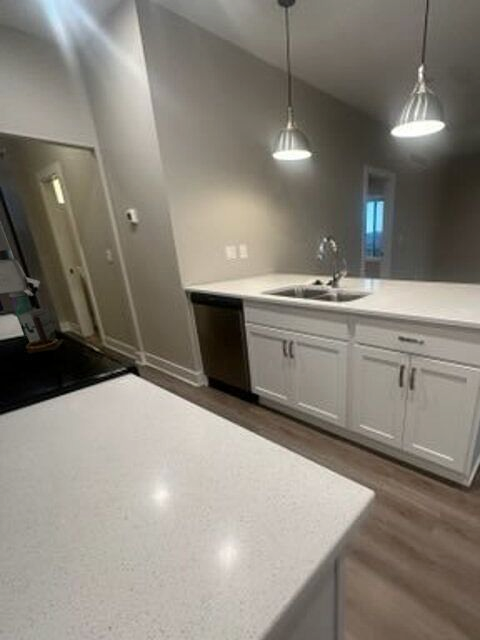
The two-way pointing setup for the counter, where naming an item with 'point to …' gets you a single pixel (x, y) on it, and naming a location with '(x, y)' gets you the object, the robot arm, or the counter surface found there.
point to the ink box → (30, 326)
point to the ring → (51, 340)
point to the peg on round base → (43, 338)
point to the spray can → (20, 305)
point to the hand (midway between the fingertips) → (18, 308)
